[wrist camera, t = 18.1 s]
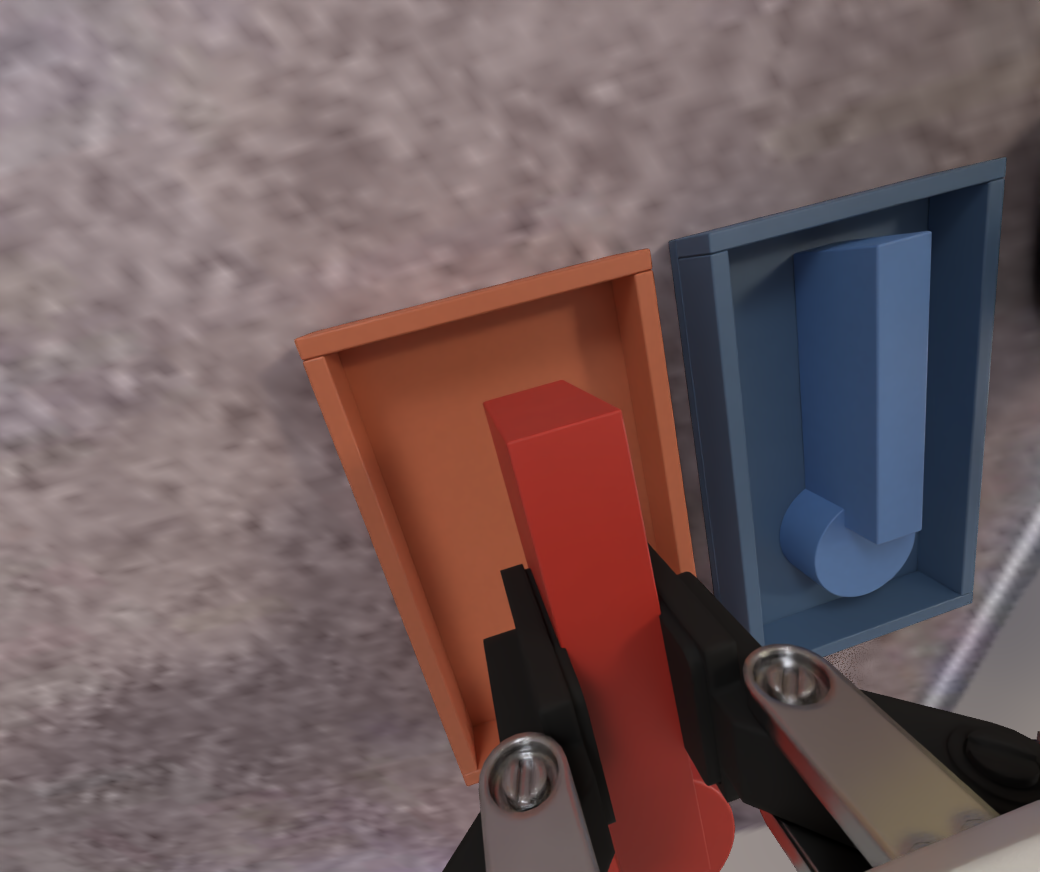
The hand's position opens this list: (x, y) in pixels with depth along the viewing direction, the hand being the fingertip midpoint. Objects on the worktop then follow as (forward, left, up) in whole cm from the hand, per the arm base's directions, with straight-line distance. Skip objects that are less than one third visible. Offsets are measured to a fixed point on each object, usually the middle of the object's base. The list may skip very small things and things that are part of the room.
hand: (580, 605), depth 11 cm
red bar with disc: (+2, 0, -1) cm, 2 cm away
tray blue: (+2, +12, -7) cm, 14 cm away
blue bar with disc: (+1, +12, -7) cm, 14 cm away
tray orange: (+2, 0, -7) cm, 7 cm away
